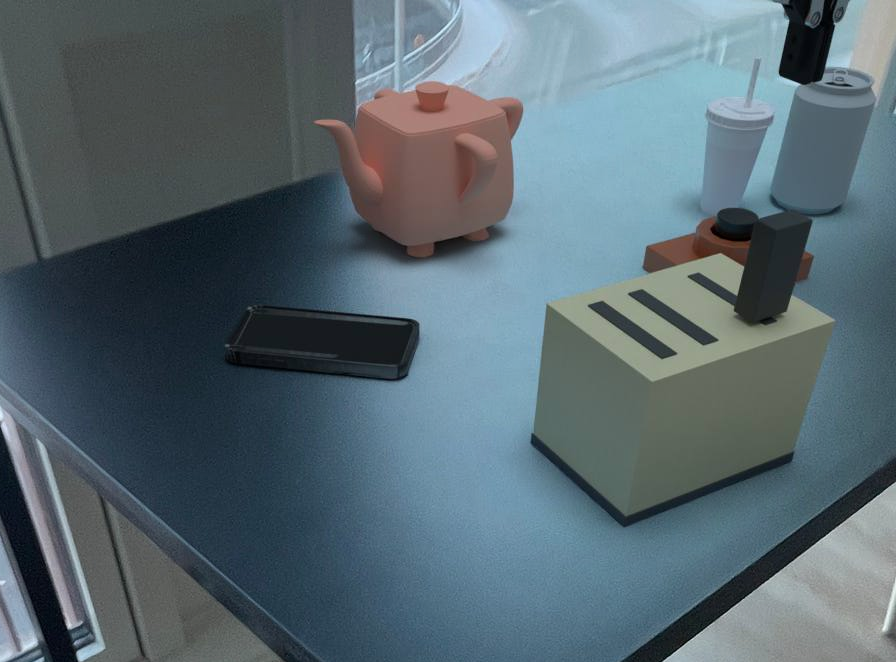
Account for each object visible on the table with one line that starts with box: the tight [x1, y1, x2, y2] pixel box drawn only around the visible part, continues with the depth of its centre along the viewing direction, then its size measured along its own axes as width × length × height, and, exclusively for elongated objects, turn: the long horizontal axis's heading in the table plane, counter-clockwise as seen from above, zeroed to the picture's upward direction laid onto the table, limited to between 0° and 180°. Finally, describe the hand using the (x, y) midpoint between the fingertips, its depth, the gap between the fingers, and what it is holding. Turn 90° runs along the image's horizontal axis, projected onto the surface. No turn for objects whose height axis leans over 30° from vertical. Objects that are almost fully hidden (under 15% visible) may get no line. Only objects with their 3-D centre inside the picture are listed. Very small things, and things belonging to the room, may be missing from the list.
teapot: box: [314, 80, 524, 258], centre depth 94 cm, size 17×16×13 cm
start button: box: [713, 207, 760, 242], centre depth 90 cm, size 4×4×2 cm
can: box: [770, 66, 877, 215], centre depth 99 cm, size 8×8×12 cm
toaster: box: [530, 253, 837, 527], centre depth 69 cm, size 15×11×11 cm
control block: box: [642, 216, 815, 283], centre depth 91 cm, size 12×9×4 cm
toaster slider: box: [734, 209, 814, 323], centre depth 63 cm, size 3×2×6 cm, turn 119°
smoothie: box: [700, 56, 776, 217], centre depth 97 cm, size 6×6×14 cm
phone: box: [224, 304, 421, 380], centre depth 83 cm, size 8×1×15 cm
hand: (799, 78), depth 80 cm, fingers closed
